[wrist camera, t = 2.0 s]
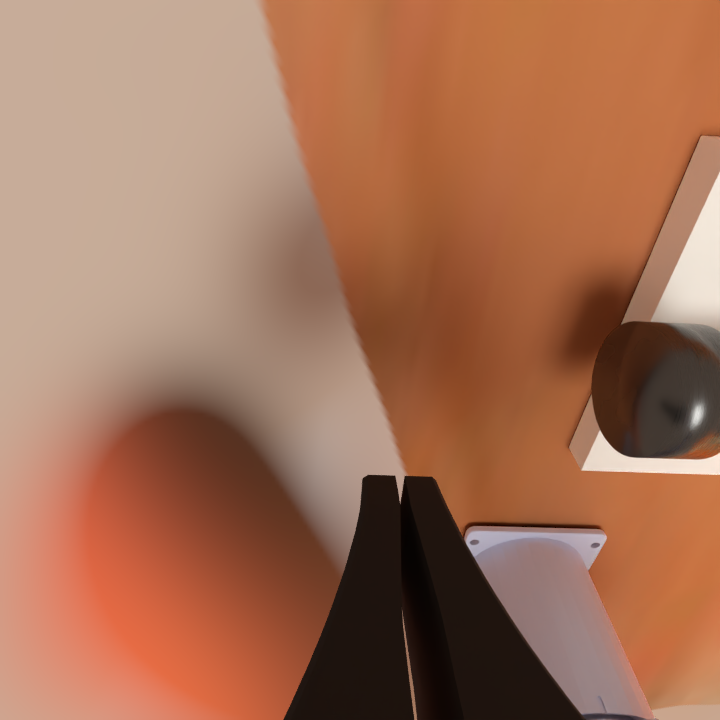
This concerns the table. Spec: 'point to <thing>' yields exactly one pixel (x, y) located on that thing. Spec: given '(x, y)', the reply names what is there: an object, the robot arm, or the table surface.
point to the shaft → (659, 390)
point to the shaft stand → (672, 300)
